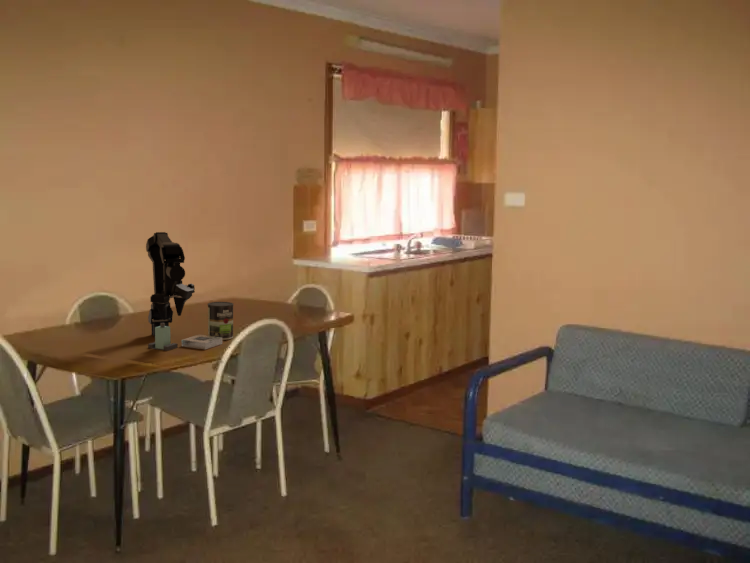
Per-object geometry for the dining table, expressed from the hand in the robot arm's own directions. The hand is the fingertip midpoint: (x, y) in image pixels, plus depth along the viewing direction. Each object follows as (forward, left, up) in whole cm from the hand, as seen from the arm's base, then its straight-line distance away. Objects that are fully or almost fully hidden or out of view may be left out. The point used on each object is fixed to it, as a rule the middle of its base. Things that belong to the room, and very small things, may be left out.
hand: (172, 317), depth 309 cm
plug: (-2, -3, -11) cm, 12 cm away
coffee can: (+4, +26, -13) cm, 29 cm away
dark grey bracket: (-2, -3, -12) cm, 13 cm away
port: (+8, +8, -12) cm, 17 cm away
